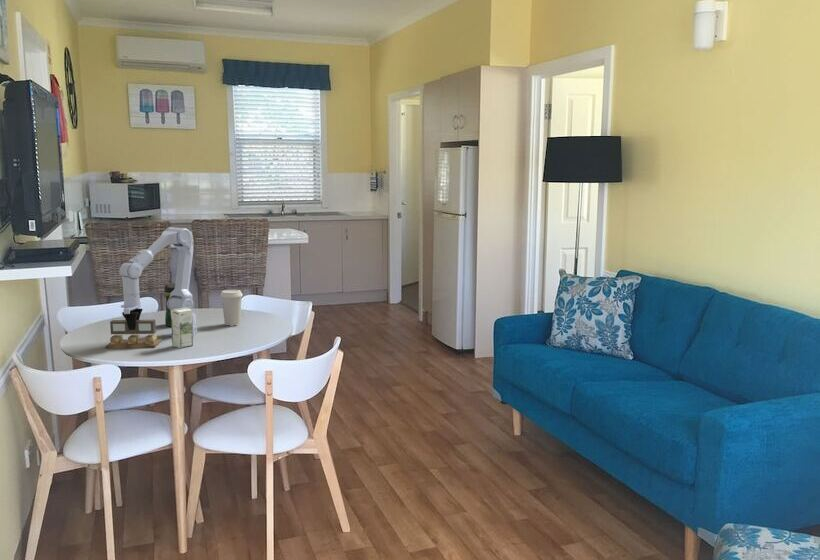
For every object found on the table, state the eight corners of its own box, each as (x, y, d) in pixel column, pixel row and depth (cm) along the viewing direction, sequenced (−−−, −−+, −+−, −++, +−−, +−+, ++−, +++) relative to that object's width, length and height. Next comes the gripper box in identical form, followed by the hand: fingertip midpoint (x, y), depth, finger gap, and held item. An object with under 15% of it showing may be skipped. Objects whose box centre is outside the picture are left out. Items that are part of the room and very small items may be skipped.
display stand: (161, 341, 271) (161, 332, 271) (154, 347, 261) (154, 338, 261) (114, 342, 270) (114, 333, 269) (105, 348, 260) (105, 339, 259)
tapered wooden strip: (155, 332, 267) (155, 319, 266) (153, 333, 264) (153, 321, 263) (113, 332, 266) (112, 319, 265) (110, 334, 262) (109, 321, 262)
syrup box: (185, 343, 268) (183, 307, 266) (193, 345, 265) (192, 309, 263) (171, 346, 264) (170, 309, 262) (180, 348, 260) (178, 311, 258)
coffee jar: (166, 327, 295) (164, 285, 292) (164, 324, 302) (162, 282, 299) (190, 325, 299) (188, 283, 296) (187, 322, 306) (185, 281, 304)
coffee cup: (246, 322, 306) (245, 289, 304) (239, 327, 297) (238, 293, 295) (225, 322, 307) (224, 289, 305) (217, 326, 298) (216, 292, 295)
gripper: (126, 290, 269) (128, 324, 271) (114, 297, 255) (116, 333, 257) (145, 290, 270) (146, 324, 272) (134, 297, 256) (135, 332, 258)
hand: (133, 328), depth 265 cm, fingers closed on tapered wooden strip, 3 cm apart
